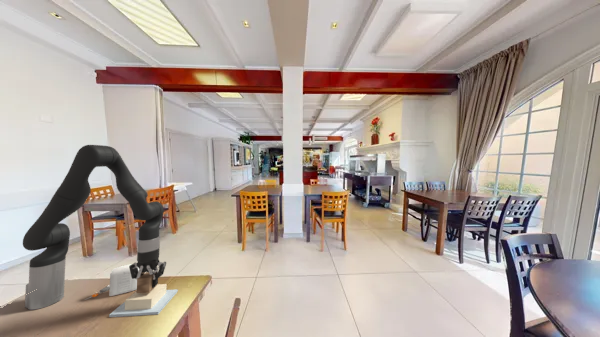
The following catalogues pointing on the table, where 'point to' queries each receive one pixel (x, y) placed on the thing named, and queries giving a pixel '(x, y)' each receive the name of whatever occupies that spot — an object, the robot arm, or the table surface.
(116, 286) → the photo printer
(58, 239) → the robot arm
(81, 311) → the table surface
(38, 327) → the table surface
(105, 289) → the key chain
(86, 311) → the table surface
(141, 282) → the walnut block
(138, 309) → the butter dish
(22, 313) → the table surface
